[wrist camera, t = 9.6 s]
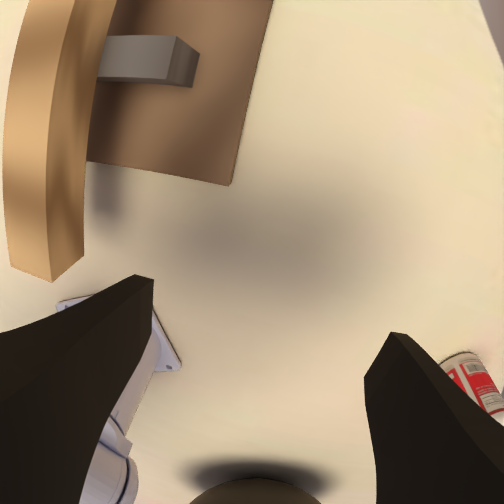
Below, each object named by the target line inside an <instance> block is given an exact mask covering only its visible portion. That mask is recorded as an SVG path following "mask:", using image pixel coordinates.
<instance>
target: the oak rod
mask: <svg viewBox="0 0 504 504" xmlns="http://www.w3.org/2000/svg"><path fill="white" fill-rule="evenodd" d="M116 1H117V0H29V3H28V6H27V9H26V13H25V16H24V19H23V23H22V26H21V30H20V33H19V37H18V41H17V46H16V50H15V54H14V59H13V64H12V69H11V75H10V81H9V87H8V94H7V102H6V111H5V121H4V135H3V201H4V215H5V226H6V235H7V243H8V251H9V257H10V264H11V267H14V268H16V269H18V270H21V271H23V272H26V273H28V274H31V275H33V276H36V277H38V278H41V279H43V280H46V281H49V282H51V283H52V282H54V281H55V280H56V279H57V278H58V277H59V276H60V275H62V274H63V273H64V272H65V271H66V270H67V269H69V268H70V267H71V266H72V265H73V264H74V263H76V262H77V261H78V260H79V259H80V258H82V257H83V256H84V224H83V220H84V182H85V165H86V153H87V142H88V133H89V124H90V117H91V110H92V103H93V97H94V91H95V85H96V80H97V75H98V70H99V65H100V60H101V56H102V51H103V47H104V43H105V39H106V35H107V32H108V28H109V24H110V21H111V17H112V14H113V11H114V7H115V4H116Z"/></svg>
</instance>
